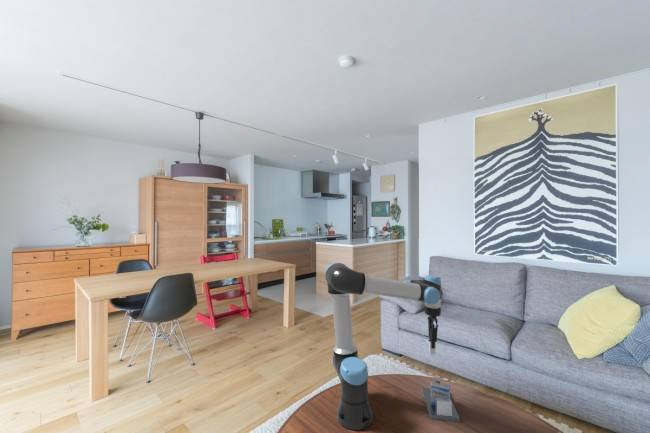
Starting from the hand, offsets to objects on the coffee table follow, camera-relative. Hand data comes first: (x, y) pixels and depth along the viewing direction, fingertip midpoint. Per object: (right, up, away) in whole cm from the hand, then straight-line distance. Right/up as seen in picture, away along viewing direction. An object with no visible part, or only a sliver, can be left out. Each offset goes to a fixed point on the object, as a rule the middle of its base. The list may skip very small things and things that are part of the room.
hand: (432, 353), depth 145 cm
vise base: (-1, -18, -12) cm, 22 cm away
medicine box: (-2, -17, -14) cm, 22 cm away
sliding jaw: (-1, -16, -10) cm, 19 cm away
